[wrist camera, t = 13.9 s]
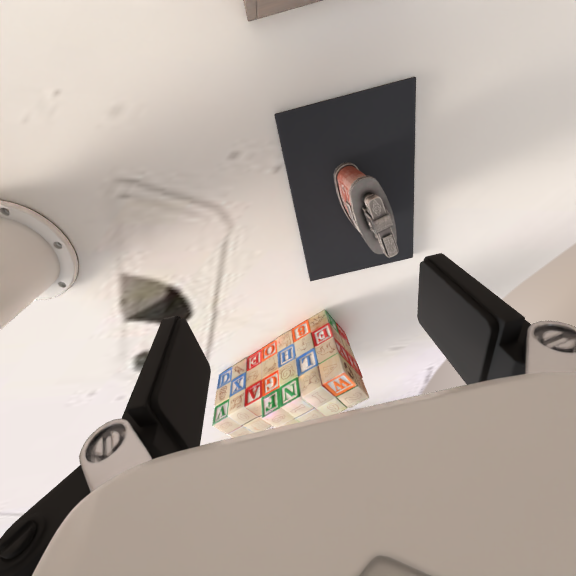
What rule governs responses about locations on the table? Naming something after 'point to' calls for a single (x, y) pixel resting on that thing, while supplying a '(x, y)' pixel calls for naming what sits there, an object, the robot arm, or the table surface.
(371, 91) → the charcoal mat
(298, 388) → the stack of blocks
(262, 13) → the walnut box
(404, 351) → the table surface
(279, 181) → the table surface
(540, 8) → the table surface
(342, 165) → the lighter
